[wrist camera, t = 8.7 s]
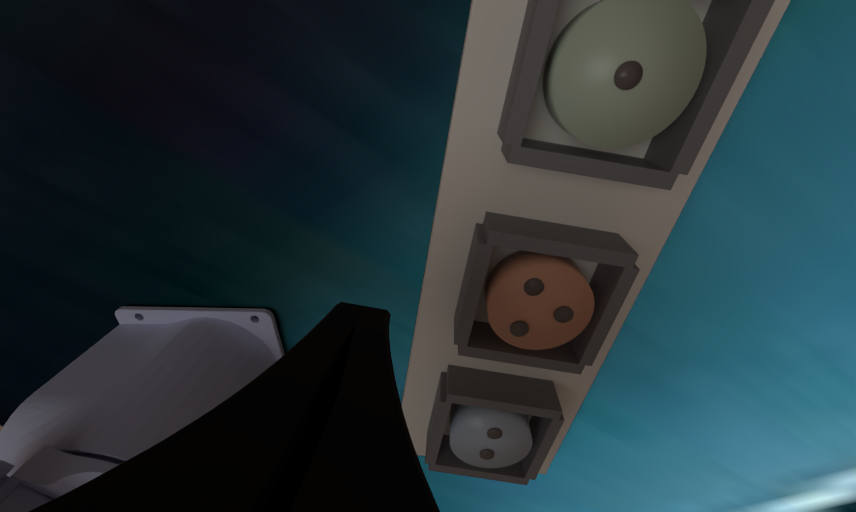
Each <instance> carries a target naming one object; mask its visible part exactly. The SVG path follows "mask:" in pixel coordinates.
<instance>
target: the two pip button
mask: <svg viewBox="0 0 856 512" xmlns="http://www.w3.org/2000/svg"><path fill="white" fill-rule="evenodd" d="M450 447H451V449H452V451H453V453H454V454H455V455H456V456H457V457H458V458H459V459H460V460H462V461H463V462H465V463H467V464H470V465H473V466H476V467H481V468H501V467H506V466H510V465H512V464H515V463H517V462H519V461H520V460H522V459H523V458H524V457H526V456H527V454H528V453H529V452H530V450H531V447H532V436H531V431H530V427H529V422H528V417H527V415H526V414H519V413H513V412H506V411H500V410H493V409H487V408H481V407H474V406H468V405H461V404H456V405H455V406H454V407H453V409H452V411H451V413H450Z"/></svg>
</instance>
